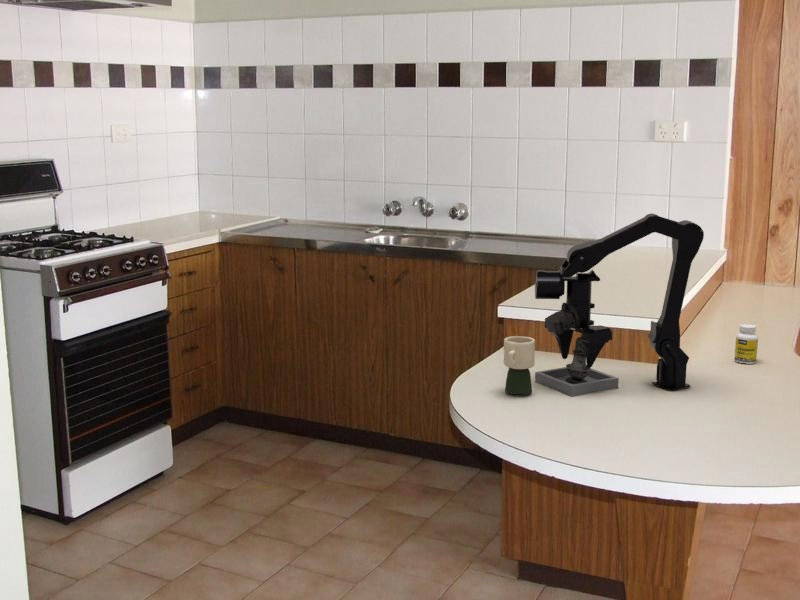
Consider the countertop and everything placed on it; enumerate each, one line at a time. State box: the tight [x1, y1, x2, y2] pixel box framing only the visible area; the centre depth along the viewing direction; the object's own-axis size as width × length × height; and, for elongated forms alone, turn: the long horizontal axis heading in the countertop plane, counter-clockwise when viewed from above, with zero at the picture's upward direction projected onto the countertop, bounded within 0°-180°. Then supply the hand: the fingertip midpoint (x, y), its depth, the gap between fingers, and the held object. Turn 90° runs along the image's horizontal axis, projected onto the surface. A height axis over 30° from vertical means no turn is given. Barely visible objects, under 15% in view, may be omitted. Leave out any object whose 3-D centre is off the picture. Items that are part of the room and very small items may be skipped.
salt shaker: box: [565, 334, 592, 384], centre depth 223 cm, size 6×6×12 cm
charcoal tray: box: [534, 366, 620, 398], centre depth 224 cm, size 14×14×2 cm
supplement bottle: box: [734, 323, 759, 365], centre depth 243 cm, size 5×5×10 cm
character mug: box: [503, 335, 536, 396], centre depth 216 cm, size 11×7×13 cm, turn 149°
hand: (576, 363), depth 223 cm, fingers open, 9 cm apart
